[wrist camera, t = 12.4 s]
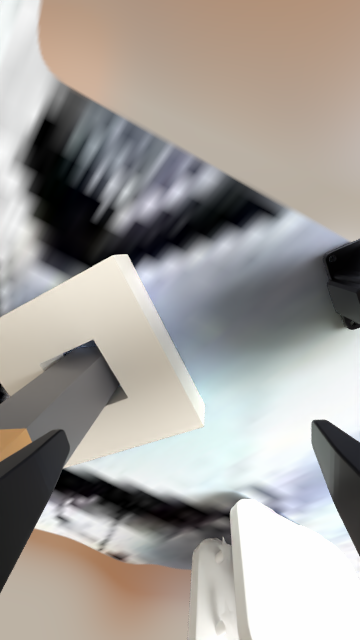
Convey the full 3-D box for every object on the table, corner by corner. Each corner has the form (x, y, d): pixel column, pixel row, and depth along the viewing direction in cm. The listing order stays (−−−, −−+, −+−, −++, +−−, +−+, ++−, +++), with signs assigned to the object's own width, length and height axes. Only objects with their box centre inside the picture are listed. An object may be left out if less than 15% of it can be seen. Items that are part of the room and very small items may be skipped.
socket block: (127, 254, 20) (112, 255, 17) (205, 404, 23) (204, 426, 20) (-5, 325, 24) (-34, 336, 21) (78, 445, 27) (63, 468, 24)
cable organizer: (351, 546, 26) (452, 763, 15) (292, 588, 30) (340, 790, 19) (235, 484, 26) (253, 662, 15) (190, 534, 29) (176, 709, 18)
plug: (112, 344, 22) (-9, 461, 10) (122, 380, 23) (23, 526, 11) (75, 348, 23) (-81, 463, 11) (86, 383, 24) (-44, 524, 12)
